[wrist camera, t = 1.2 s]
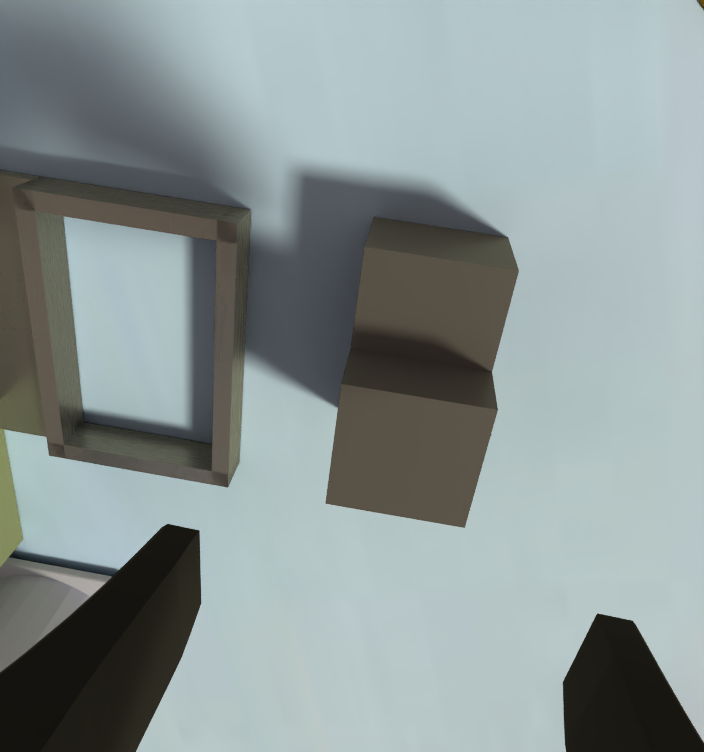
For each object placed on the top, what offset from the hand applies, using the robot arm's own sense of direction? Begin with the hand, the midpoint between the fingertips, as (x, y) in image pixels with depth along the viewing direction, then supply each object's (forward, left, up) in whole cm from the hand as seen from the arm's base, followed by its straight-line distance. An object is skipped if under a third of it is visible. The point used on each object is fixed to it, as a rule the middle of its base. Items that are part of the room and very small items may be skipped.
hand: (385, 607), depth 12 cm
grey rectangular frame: (-1, +10, -11) cm, 15 cm away
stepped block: (+1, 0, -11) cm, 11 cm away
